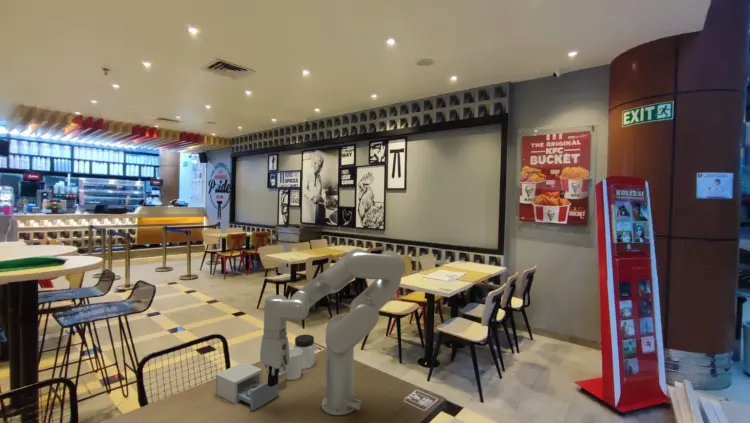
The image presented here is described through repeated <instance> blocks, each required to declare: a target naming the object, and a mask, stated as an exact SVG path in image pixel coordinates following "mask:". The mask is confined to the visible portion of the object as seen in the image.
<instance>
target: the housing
mask: <svg viewBox="0 0 750 423" xmlns="http://www.w3.org/2000/svg"><path fill="white" fill-rule="evenodd" d="M255 382H257V383H260V384H263V369H262V368H260V367H257V366H254V365H252V364H249V363H246V362H244V361H243V362H240V363H238V364H235V365H234V366H231V367H229V368H227V369H224V370H222V371H220V372H218V373H216V374H215V395H217V396H218V397H220V398H222V399H225V400H227V401H229V402H231V403H233V404H237V403H239V402H241V400H240V399H238V398H237V392H238V391H240V390H242V389H244V388H246V387H248V386H249V385H251V384H253V383H255Z"/></svg>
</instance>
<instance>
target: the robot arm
mask: <svg viewBox="0 0 750 423" xmlns="http://www.w3.org/2000/svg"><path fill="white" fill-rule="evenodd" d="M405 272H406V263H405V260H404V259H403V258H402V256H400V254H398V252H395V251H393V250H386V251H383V252H382V253H370V252H366V251H365V250H364V249H362V248H354V249H351V250H350V251H348V252H347V253H346V254H345V255H343V256H342V257H341V258H340V259H338V260H337V261H336V262H335V263H332V264H331V266H329V267H328V268H326V269H325V270H324V271H323V272H321V273H320V274H318V275H317V276H316V277H315V278H313V279H312V280H310V281H309V282H308V283H306V284H305V285H304V286H303V287H301V288H300V289H298V290H297V291H296V292H294V293H293V295H292V296H291V297H290V298H288V297H286V296H285V295H282V294H274V295H273V294H271V295H268V296H267V297H266V298H265V301H264V313H263V314H264V315H263V318H264V319H263V334H262V337H261V344H260V350H259V351H260V353H259V359H260V362H261V364H262V365H263V366H264V367H265V369H266V374H267V381H268V386H270V387H273V386H274V385H276V384H278V373H280V372H284V371H286V367H285V365H288V364H289V349H290V345H289V338H288V336H287V335H288V332H287V320H288V321H293V322H298V321H299V322H300V321H302V320H304V319H305V318H306V317H308V315H309V311H310V308H311V307H312V306H314V305H315V303H317V302H318V301H320V300H322V298H324V297H325V296H327V295H329V294H330V295H331V294H335V293H338V292H340V291H341V290H342V289H344V287H346V286H347V285H349V284H350V283H351V282H352V281H353V280H355V279H356V278H357V279H358V278H359V279H367V280H373V281H372V283H370V284H369V286H367V287H366V288H365V289H364V290H363V291H362V292H361V293H359V295H357V296H356V297H355V298H354V299H353V300H352V301H351V303H350V305H349V312H347V313H346V314H343V313H342V314H341V313H339V314H335V315H333V316H332V317H331V318H330V319H329V320H328V321H327V324H326V327H325V328H326V329H325V344H326V355H325V356H326V358H325V359H326V363H325V369H326V370H325V397H324V398H323V399H322V401H321V406H320V407H321V409H322V410H323V411H324V412H325V413H326V414H328V415H333V416H344V415H348V414H350V413H352V412H354V411H355V410H356V411H359V410H360V409H361V407H362V406H361V405H362V400H361V399H359V398H357V394H356V392H354V358H355V357H354V354H355V353H354V352H355V351H354V349H355V347H356V346H357V345H358V344H359V343H361V341H362V340H363V339H365V337H366V336H368V335H369V334H370V333H371V332H372V331H373V330H374V329H375V327H376V326H377V324H378V322H379V318H380V312H379V311H380V310H381V309H382V308H383V307H384V306H385V305H386V304H387V303H388V302H389V301H390V300H391V299H392V298H393V297H394V296H395V294H396V293H397V291H398V290H399V288H400V285H401V281H402V276H404V274H405Z"/></svg>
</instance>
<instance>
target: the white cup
mask: <svg viewBox="0 0 750 423" xmlns="http://www.w3.org/2000/svg"><path fill="white" fill-rule="evenodd" d="M302 353H303V351H302V350H301V349H298V348H294V347H293V348H289V364H288V365H285V367H286V371H287V381H293V380H299V378H301V376H302V370H303V369H302Z"/></svg>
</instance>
